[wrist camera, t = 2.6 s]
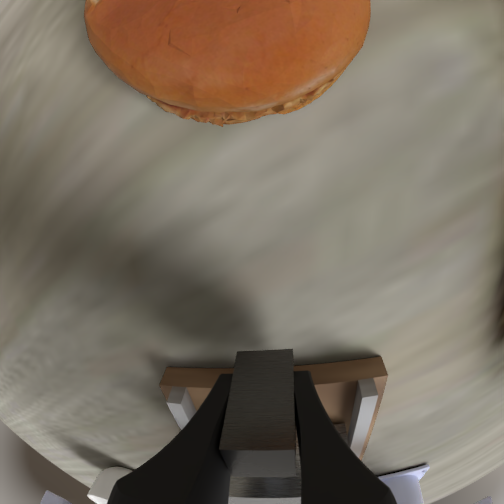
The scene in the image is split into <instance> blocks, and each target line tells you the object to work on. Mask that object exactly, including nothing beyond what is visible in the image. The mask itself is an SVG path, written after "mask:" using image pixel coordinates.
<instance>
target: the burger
mask: <svg viewBox="0 0 504 504" xmlns="http://www.w3.org/2000/svg"><path fill="white" fill-rule="evenodd" d="M84 18H85V23H86V28H87V33H88V38H89V40H90V43H91V45H92V46H93V48H94V50H95V52H96V53H97V54H98V56H99V57H100V58H101V59H102V60H103V62H104V63H105V64H106V65H107V66H108V68H109V69H110V70H111V71H112V72H113V73H114V74H115V75H116V76H117V77H118V78H120V79H121V80H122V81H124V82H125V83H127V84H128V85H130V86H131V87H133V88H134V89H135V90H137V91H138V92H140V93H142V94H145V95H146V96H147V98H149V99H150V100H152V102H156V104H157V105H158V106H159V107H160V108H162V109H163V110H164V111H166V112H170V113H175V114H176V115H177V116H179V117H181V118H183V119H190V118H192V119H194V120H196V121H197V122H200V121H201V122H205V123H206V122H208V121H209V122H210V123H212V124H217V125H219V126H222V127H223V124H236V123H243V122H248V121H251V120H255V119H258V118H260V117H261V116H266V115H268V114H277V113H279V114H287V113H289V112H292V111H295V110H298V109H300V108H302V107H304V106H306V105H307V104H309V103H311V102H312V101H313V100H315V99H317V98H318V97H320V96H321V95H322V94H323V93H324V92H325V91H326V90H327V89H328V88H330V87H331V86H332V85H333V83H334V82H335V81H336V80H337V79H338V78H339V77H340V75H341V74H342V73H343V72H344V70H345V69H346V67H347V66H348V65H349V63H350V62H351V61H352V60H353V58H354V57H355V56H356V54H357V53H358V52H359V50H360V49H361V48H362V46H363V43H364V40H365V37H366V34H367V31H368V28H369V22H370V0H86V3H85V11H84Z"/></svg>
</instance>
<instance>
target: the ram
mask: <svg viewBox="0 0 504 504" xmlns="http://www.w3.org/2000/svg"><path fill="white" fill-rule="evenodd" d="M334 426H335V428H336V429H337V431H338V432H339V434H340V435H341V437H342V438H343V439H344V441H345V442H346V443H347V445H348V440H347V433H346V427H345V424H337V425H334ZM219 451H220V453H221V455H222V457H223V459H224V461H225V463H226V465H227V467H228V469H229V471H230V473H231V476H230V487H229V500H228V504H301V466H300V456H299V448H298V439H297V431H296V422H295V399H294V364H293V349H283V350H265V351H238V352H237V355H236V360H235V365H234V371H233V376H232V382H231V388H230V392H229V398H228V403H227V409H226V414H225V419H224V425H223V430H222V435H221V441H220V446H219Z"/></svg>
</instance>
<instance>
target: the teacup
mask: <svg viewBox="0 0 504 504" xmlns="http://www.w3.org/2000/svg"><path fill="white" fill-rule="evenodd" d="M130 472H132V470H130V469H127V468H123V467H110V468H107V469H105V470H103V471H102V472H101V473H100V474H99V475H98V476H97V478H96V480H95V482H94V483H93V485H92V487H91V489H90V491H89V493H88V494H87V496H88V497H89V498H90V499H91V500H93V501H94V502H96V503H97V504H107V502H108V499H109V496H110V494H111V491H112V489H113V486H114V485H115V483H116V481H117V480H118V479H120V478H122V477H123V476H125V475H127V474H129V473H130Z"/></svg>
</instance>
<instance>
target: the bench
mask: <svg viewBox="0 0 504 504" xmlns="http://www.w3.org/2000/svg"><path fill="white" fill-rule="evenodd" d="M305 370H308V371H310V372H311V376H312V380H313V383H314V386H315V389H316V391H317V394H318V396H319V398H320V400H321V402H322V404H323V406H324V408H325V410H326V412H327V414H328V416H329V418H330V419H331V421H332V423H333V424H334V425H337V424H345V427H346V433H347V440H348V446H349V447H350V449H351V450H352V451H353V452H354V453H355V455H356V456H357V457H358V458H359V459H360V460H362V458H363V455H364V452H365V449H366V447H367V444H368V441H369V438H370V435H371V432H372V429H373V426H374V423H375V420H376V417H377V413H378V410H379V407H380V403H381V400H382V396H383V393H384V389H385V385H386V381H387V377H388V374H387V371H386V368H385V366H384V363H383V360H382V357H381V356H380V357H373V358H366V359H358V360H351V361H342V362H333V363H323V364H312V365H300V366H294V371H305ZM233 371H234V368H177V367H167V368H166V370H165V373H164V375H163V377H162V380H161V382H160V385H159V386H160V388H161V390H162V392H163V394H164V396H165V398H166V400H167V402H166V403H167V405H168V407H169V409H170V411H171V413H172V414H173V416H174V418H175V420H176V422H177V424H178V426H179V427H180V429H181V430H182V429H183V428H184V427H185V426H186V424H187V423H188V422H189V421H190V419H191V418H192V417H193V416H194V414H195V413H196V412H197V410H198V409H199V407H200V406H201V404H202V403H203V402H204V400H205V399H206V397H207V395H208V394H209V392H210V391H211V389H212V387H213V386H214V384H215V382H216V380H217V379H218V377H219V375H220V374H233Z"/></svg>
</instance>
